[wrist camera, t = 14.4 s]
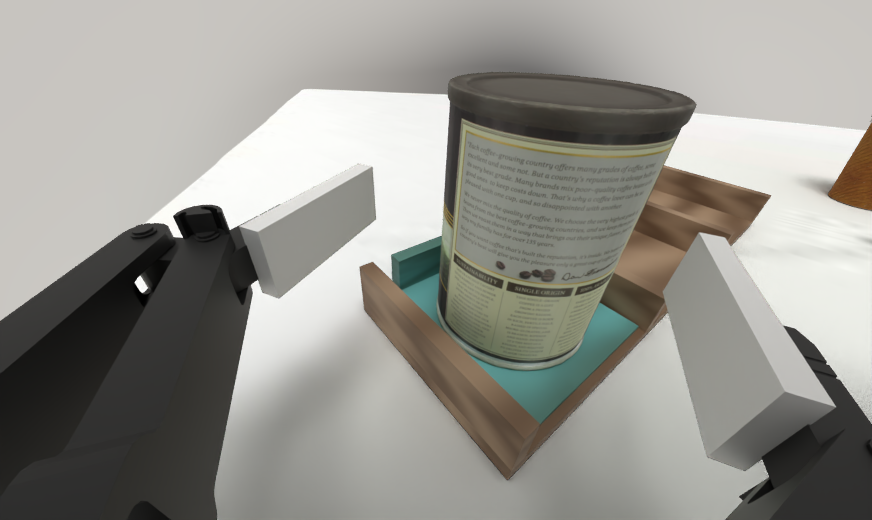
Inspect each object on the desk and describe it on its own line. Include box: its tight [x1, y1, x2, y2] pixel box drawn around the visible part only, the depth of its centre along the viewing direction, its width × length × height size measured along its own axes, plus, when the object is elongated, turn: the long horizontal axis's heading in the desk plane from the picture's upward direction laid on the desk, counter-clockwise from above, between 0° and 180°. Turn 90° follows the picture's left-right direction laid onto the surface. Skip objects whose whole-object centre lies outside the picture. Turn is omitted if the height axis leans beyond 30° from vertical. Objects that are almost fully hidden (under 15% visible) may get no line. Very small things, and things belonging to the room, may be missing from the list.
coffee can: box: [437, 72, 696, 371], centre depth 19 cm, size 10×10×14 cm
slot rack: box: [360, 166, 771, 480], centre depth 30 cm, size 14×43×4 cm, turn 128°
